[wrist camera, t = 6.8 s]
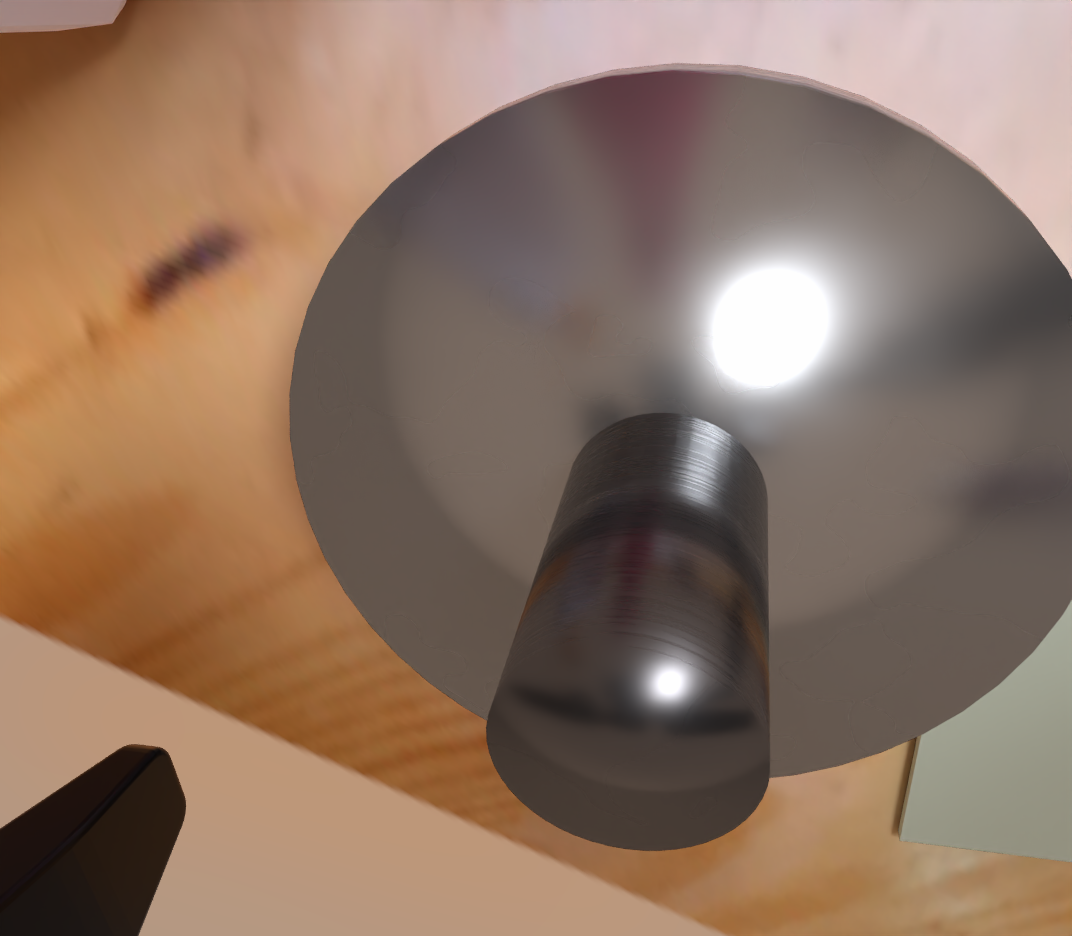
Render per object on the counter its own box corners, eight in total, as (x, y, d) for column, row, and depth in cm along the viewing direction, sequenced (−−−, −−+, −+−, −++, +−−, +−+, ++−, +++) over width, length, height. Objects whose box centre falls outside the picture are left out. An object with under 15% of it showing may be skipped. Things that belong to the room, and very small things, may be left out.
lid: (1216, 44, 10) (1608, 167, 6) (1006, 783, 17) (1107, 1149, 12) (237, 78, 13) (-78, 185, 8) (368, 711, 19) (233, 988, 14)
